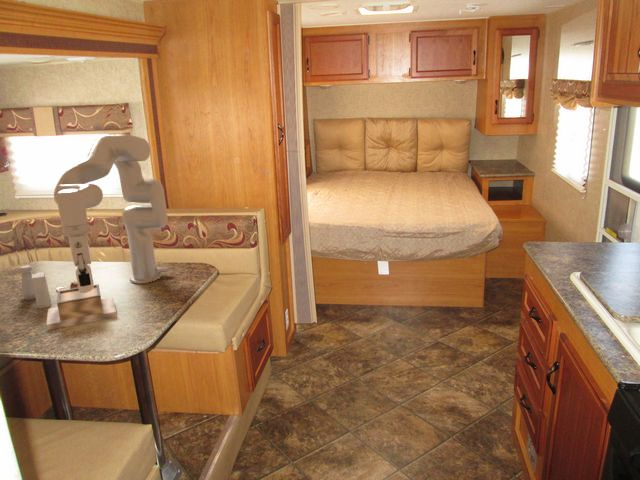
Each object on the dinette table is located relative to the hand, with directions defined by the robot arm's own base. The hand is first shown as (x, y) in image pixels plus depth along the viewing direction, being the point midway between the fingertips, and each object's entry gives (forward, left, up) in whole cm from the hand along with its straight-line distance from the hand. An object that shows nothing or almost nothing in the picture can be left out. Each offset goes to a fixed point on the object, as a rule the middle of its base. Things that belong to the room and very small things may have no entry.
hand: (85, 281), depth 167 cm
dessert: (+5, -43, -19) cm, 47 cm away
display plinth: (+3, -16, -18) cm, 24 cm away
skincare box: (+16, -33, -18) cm, 41 cm away
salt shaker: (+21, -43, -18) cm, 51 cm away
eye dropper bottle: (0, 0, -3) cm, 3 cm away
